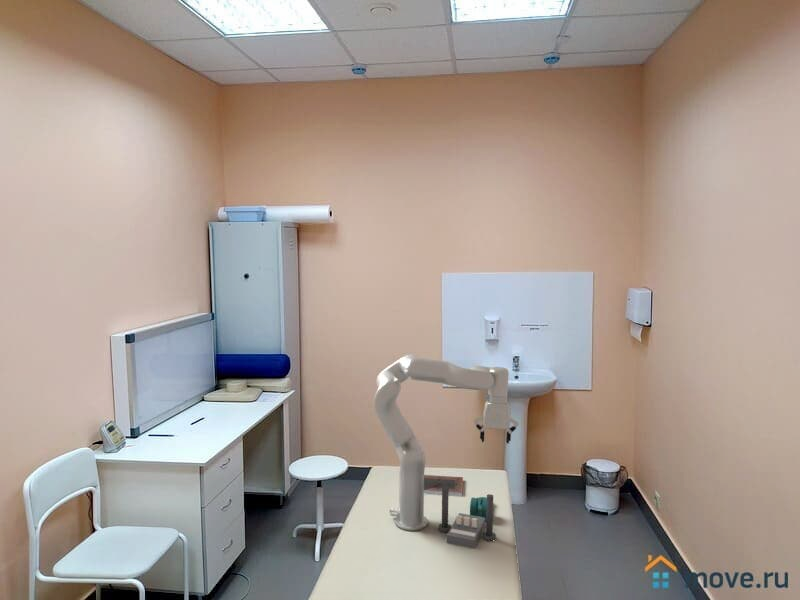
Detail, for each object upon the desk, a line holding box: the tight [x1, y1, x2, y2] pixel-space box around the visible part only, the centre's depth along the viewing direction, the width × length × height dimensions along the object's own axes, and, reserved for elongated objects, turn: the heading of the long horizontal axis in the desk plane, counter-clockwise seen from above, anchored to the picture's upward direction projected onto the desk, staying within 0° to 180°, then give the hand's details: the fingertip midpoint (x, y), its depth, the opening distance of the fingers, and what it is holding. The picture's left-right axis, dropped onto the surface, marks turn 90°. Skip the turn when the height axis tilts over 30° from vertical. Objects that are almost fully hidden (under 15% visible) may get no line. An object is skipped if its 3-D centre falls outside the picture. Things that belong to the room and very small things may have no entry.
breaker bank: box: [455, 514, 478, 528], centre depth 209 cm, size 8×1×3 cm, turn 69°
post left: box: [437, 487, 452, 534], centre depth 211 cm, size 5×5×16 cm
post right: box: [481, 493, 497, 542], centre depth 205 cm, size 5×5×16 cm
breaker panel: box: [446, 512, 486, 549], centre depth 209 cm, size 10×18×3 cm, turn 159°
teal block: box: [469, 496, 487, 524], centre depth 227 cm, size 18×7×8 cm, turn 164°
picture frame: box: [424, 474, 464, 497], centre depth 250 cm, size 16×2×22 cm
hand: (495, 441), depth 219 cm, fingers open, 9 cm apart
